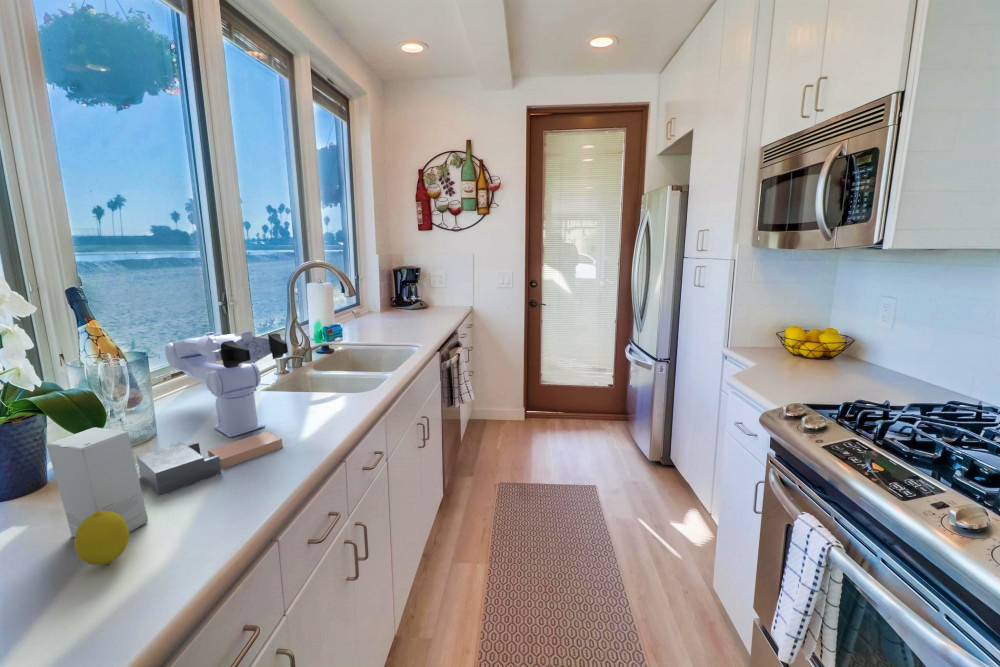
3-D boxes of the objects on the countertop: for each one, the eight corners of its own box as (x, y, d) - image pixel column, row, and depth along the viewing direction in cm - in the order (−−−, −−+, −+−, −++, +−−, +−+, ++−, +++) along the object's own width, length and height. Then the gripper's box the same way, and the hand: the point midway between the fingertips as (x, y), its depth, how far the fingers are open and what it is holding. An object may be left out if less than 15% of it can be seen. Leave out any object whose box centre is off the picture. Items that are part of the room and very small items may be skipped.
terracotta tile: (209, 461, 94) (207, 450, 93) (267, 441, 103) (266, 431, 103) (223, 470, 89) (221, 459, 89) (282, 449, 99) (281, 438, 98)
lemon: (103, 580, 59) (91, 526, 58) (70, 575, 60) (57, 521, 59) (143, 553, 65) (134, 502, 63) (112, 548, 66) (102, 498, 64)
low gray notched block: (140, 476, 87) (136, 455, 86) (199, 457, 94) (196, 437, 93) (159, 496, 80) (155, 473, 79) (221, 473, 87) (218, 452, 86)
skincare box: (149, 522, 72) (132, 431, 69) (102, 548, 66) (81, 449, 63) (114, 513, 75) (96, 424, 72) (65, 537, 69) (44, 441, 66)
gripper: (200, 336, 96) (226, 338, 87) (269, 326, 107) (298, 327, 98) (206, 369, 97) (232, 373, 88) (274, 355, 108) (303, 358, 99)
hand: (267, 351), depth 93 cm, fingers open, 7 cm apart
